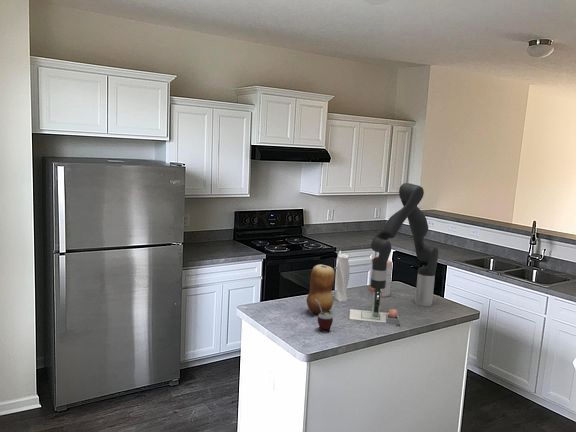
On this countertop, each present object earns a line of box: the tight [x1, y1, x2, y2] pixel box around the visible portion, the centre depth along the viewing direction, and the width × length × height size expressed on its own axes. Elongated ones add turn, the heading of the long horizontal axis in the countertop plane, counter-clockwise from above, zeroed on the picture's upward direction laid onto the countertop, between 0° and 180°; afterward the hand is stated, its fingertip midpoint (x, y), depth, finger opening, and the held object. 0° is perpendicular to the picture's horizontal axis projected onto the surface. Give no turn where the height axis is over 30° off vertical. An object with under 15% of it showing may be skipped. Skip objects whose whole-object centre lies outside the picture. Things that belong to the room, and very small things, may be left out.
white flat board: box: [348, 308, 401, 327], centre depth 240 cm, size 16×25×3 cm, turn 81°
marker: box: [371, 294, 381, 316], centre depth 240 cm, size 4×4×10 cm
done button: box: [388, 308, 398, 318], centre depth 233 cm, size 4×4×3 cm
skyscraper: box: [334, 250, 351, 302], centre depth 262 cm, size 8×8×28 cm
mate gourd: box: [314, 299, 334, 333], centre depth 220 cm, size 8×8×15 cm
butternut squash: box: [305, 264, 336, 315], centre depth 241 cm, size 14×13×25 cm
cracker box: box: [369, 256, 394, 298], centre depth 280 cm, size 14×6×21 cm, turn 21°
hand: (375, 310), depth 240 cm, fingers closed on marker, 3 cm apart
